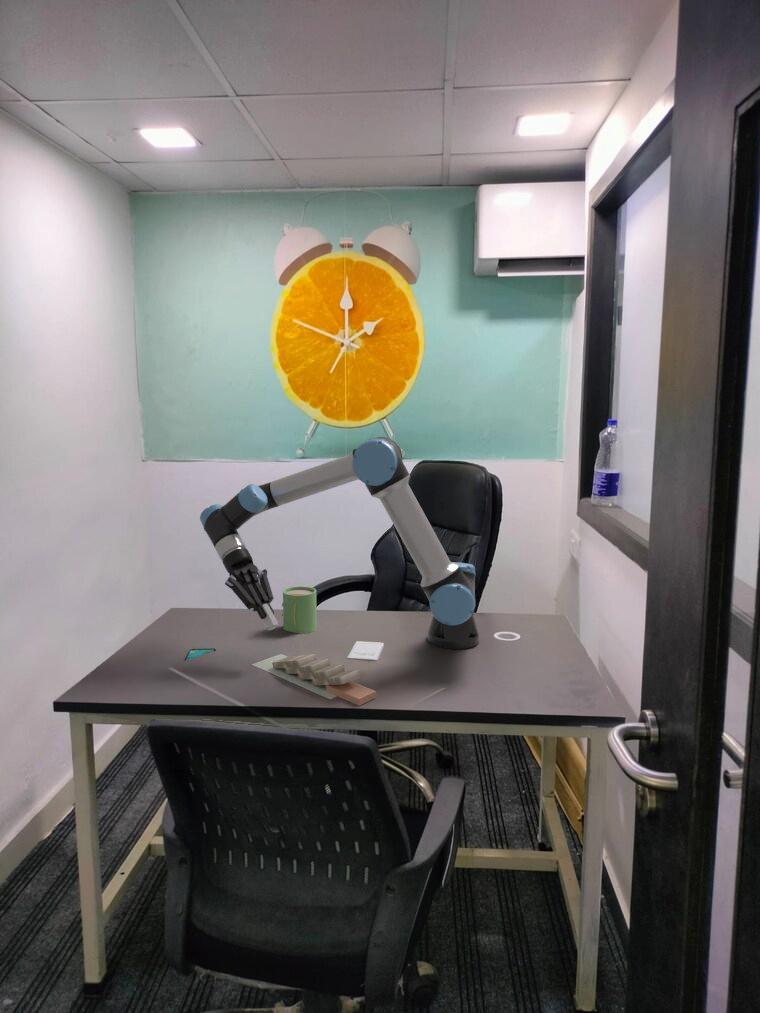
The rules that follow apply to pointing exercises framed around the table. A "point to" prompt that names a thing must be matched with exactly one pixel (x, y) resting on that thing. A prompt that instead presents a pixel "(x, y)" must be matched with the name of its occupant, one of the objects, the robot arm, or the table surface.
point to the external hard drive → (366, 651)
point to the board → (292, 676)
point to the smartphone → (198, 652)
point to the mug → (299, 609)
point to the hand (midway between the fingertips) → (274, 627)
